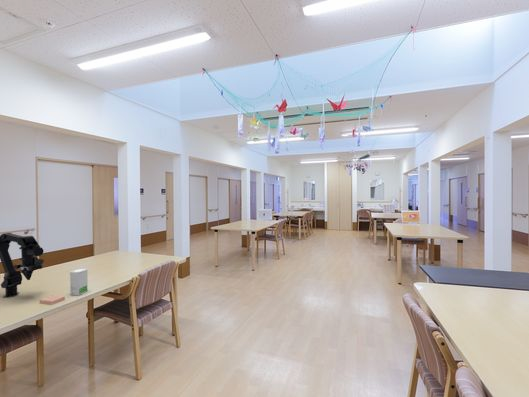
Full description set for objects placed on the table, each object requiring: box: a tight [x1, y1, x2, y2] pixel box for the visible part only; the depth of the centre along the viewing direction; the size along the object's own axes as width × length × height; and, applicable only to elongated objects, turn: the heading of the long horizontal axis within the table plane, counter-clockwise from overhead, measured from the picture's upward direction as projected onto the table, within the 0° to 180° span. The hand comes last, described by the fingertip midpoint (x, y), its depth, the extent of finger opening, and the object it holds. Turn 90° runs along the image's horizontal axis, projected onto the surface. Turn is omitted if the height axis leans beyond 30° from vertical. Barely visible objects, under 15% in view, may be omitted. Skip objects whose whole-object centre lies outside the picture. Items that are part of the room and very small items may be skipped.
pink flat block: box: [39, 294, 66, 306], centre depth 168 cm, size 2×8×10 cm
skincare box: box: [69, 268, 89, 296], centre depth 182 cm, size 8×7×16 cm
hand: (28, 279), depth 174 cm, fingers closed
